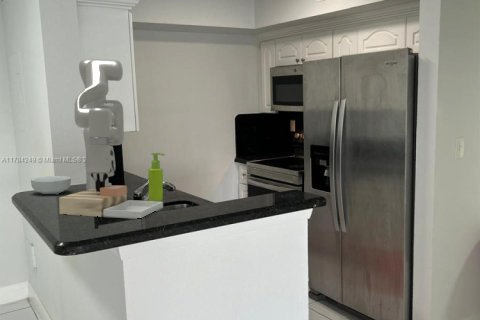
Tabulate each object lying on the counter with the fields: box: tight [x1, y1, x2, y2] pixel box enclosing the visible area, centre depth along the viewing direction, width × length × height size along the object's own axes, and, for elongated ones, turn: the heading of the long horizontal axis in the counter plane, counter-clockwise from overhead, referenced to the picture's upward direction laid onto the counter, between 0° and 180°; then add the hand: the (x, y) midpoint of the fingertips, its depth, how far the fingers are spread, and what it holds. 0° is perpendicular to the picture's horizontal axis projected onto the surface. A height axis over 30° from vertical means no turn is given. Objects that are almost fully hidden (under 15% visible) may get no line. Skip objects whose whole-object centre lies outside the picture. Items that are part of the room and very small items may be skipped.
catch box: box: [102, 199, 164, 220], centre depth 164 cm, size 20×14×2 cm
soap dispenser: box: [148, 152, 166, 202], centre depth 189 cm, size 6×7×20 cm
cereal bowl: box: [30, 175, 72, 195], centre depth 203 cm, size 17×17×7 cm
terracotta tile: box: [100, 184, 128, 197], centre depth 165 cm, size 7×7×3 cm
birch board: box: [58, 189, 128, 218], centre depth 167 cm, size 20×16×6 cm
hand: (100, 191), depth 166 cm, fingers closed
